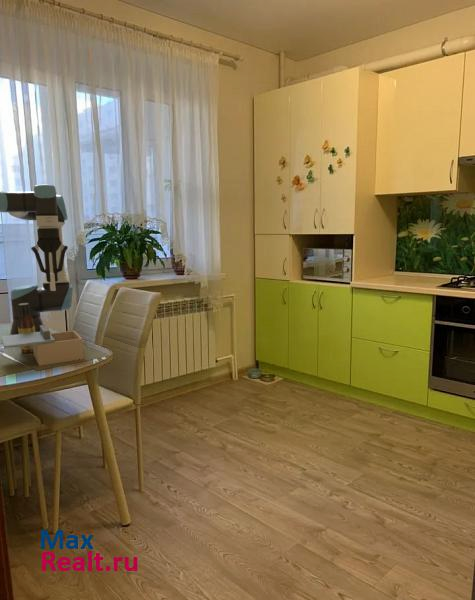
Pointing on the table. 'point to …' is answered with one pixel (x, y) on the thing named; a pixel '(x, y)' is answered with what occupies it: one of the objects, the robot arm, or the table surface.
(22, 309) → the sauce bottle
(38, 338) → the mailer lid
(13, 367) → the table surface
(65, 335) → the mailer box
